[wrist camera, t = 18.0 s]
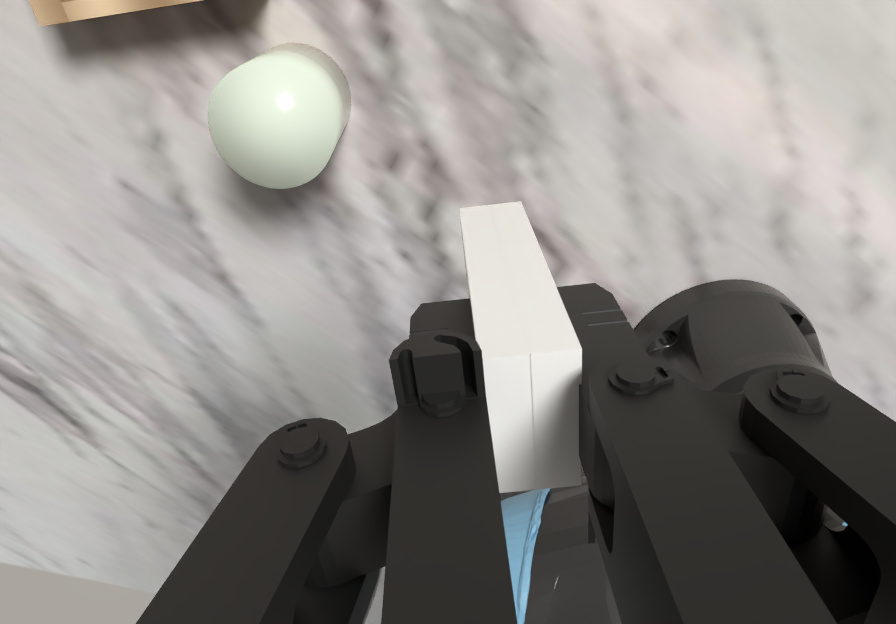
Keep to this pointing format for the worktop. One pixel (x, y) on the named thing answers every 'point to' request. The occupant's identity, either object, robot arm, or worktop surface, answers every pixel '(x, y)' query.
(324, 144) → the green jar
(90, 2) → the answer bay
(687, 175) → the worktop surface
